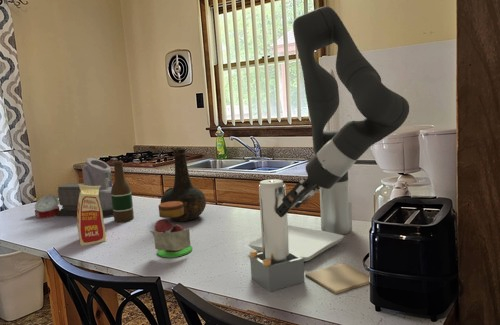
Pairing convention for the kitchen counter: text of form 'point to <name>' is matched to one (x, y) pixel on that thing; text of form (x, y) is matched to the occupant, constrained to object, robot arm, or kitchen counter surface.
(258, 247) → the salad plate
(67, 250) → the kitchen counter surface
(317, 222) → the kitchen counter surface
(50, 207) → the red white domed cylinder
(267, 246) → the white tall cylinder
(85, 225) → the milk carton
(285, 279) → the box
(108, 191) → the juicer
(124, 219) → the beer bottle
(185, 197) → the glass bottle
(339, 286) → the mat
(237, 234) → the kitchen counter surface
